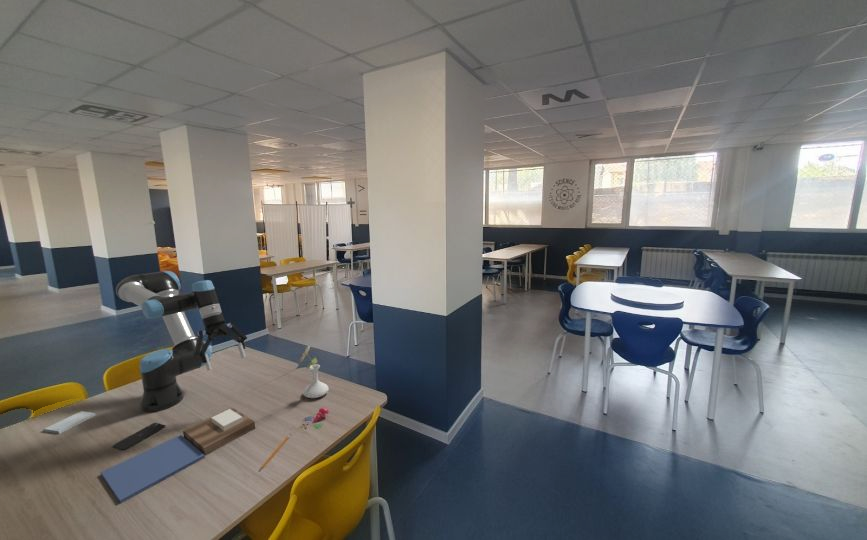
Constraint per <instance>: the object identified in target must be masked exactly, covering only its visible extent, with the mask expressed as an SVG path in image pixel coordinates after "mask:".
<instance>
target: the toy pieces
mask: <svg viewBox="0 0 867 540" xmlns="http://www.w3.org/2000/svg"><path fill="white" fill-rule="evenodd" d="M329 413H330V410H329V409H328V408H327V407H323V406H322V407H320V408H319V410H318V412H317V414H315V416H313V417H314V420H313V421H312V419H313V417H310V416H307V417H308V418H307V417H305V418H306V419H305V418H304V419H305V420H304V419H303V420H304V421H305V422H304V421H303V422H304V423H307V422H306V421H311V424H313V425H314V427H315V429H319V428H321V427H322V425H321V424H322V423H317V422H318V420H319V421H320V419H321V420H322V419H324V418H326V415H328V414H329ZM316 421H317V422H316ZM313 422H314V423H316V424H317V425H316V424H314V423H313ZM299 426H300V425H299ZM299 426H298V427H299ZM303 427H304V428H306V425H305V426H302V424H301V426H300V427H299V428H298V429H302V428H303ZM322 428H323V427H322ZM322 428H321V429H322ZM306 429H307V428H306ZM319 430H320V429H319Z"/></svg>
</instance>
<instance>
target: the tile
mask: <svg viewBox="0 0 867 540" xmlns="http://www.w3.org/2000/svg"><path fill="white" fill-rule="evenodd" d="M228 409H229V410H227V409H226V410H227V411H225V410H223V411H224V412H223V411H221V412H222V413H221V412H219V413H220V414H219V413H217V414H218V415H217V414H215V415H216V416H214V415H213V416H214V417H212V416H210V417H211V419H212V422H213V423H214V424H215V425H217V426H218V427H219V428H221V429H222V430H224V431H225V430H227V429H229V428H231V427H233V426H235V425H237V424H239V423H241V422H243V417H242V416H240V415H239V414H237V413H236V412H234V411H232V410H231V409H230V408H228Z"/></svg>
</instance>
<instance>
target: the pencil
mask: <svg viewBox="0 0 867 540" xmlns="http://www.w3.org/2000/svg"><path fill="white" fill-rule="evenodd" d="M290 437H292V433H289V434H288V435H287V436H286V437H285V438H284V440H282V442H281V443H280V444H279V445H278V446H277V448H276V449H275V450H274V451H273V452H272V453H271V455H270V456H269V457H268V458H267V459H266V460H265V462H264V463H263V464H262V465H261V467H260V469H259V470H258V472H261V470H263V469H264V468H265V467H266V466H267V465H268V463H269V462H270V461H271V460H272V459H273V458H274V456H276V454H277V453H278V452H279V450H280V449H281V448H282V447H283V446H284V445H285V443H286V442H288V440H289V439H290ZM266 464H267V465H266Z"/></svg>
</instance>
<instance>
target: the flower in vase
mask: <svg viewBox="0 0 867 540" xmlns="http://www.w3.org/2000/svg"><path fill="white" fill-rule="evenodd" d="M310 349H311V346H309V345H308V346H307V347H305V350H304V352H303V353H302V356H301V357H300V358H299V362H303V360H304V359H305V358H306V357H308V359H309V360H310V363H309V364H308V365H307V367H306V370H308V369H309V370H310V372H311V375H312V381H311V383H309V384H308V385H307V386H306V387H305V388H304V389H303V392H302V394H303V396H304V397H306V398H308V399H316V398H320V397H324V396H325V395H326V394H327V393H328V392H329V389H330V388H329V386H328V385H327V384H326V383H324V382H322V381H320V380H319V378H318V373H319V369H320V367H321V365H320V364H318V359H317V357H316V356H315V357H314V358H313V359H311V357H310V356H309V354H308V353H309V351H310Z"/></svg>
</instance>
